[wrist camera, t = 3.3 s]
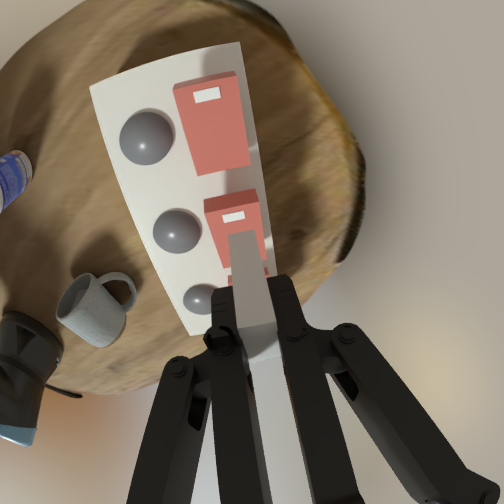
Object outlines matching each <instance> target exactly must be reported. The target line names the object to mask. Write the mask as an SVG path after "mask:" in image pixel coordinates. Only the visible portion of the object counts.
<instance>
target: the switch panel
mask: <svg viewBox="0 0 504 504" xmlns="http://www.w3.org/2000/svg"><path fill="white" fill-rule="evenodd" d="M229 71H234V72H235V73H236V75H237V80H238V86H239V92H240V98H241V105H242V111H243V117H244V124H245V130H246V137H247V143H248V150H249V156H250V163H251V165H248V166H243V167H238V168H233V169H228V170H223V171H219V172H214V173H210V174H206V175H201V176H197V173H196V170H195V166H194V163H193V160H192V156H191V153H190V150H189V146H188V143H187V140H186V136H185V133H184V129H183V126H182V123H181V119H180V116H179V112H178V109H177V105H176V102H175V98H174V94H173V91H172V89H173V86H174V84H176V83H180V82H183V81H187V80H191V79H195V78H200V77H204V76H209V75H213V74H218V73H224V72H229ZM89 88H90V92H91V96H92V100H93V104H94V107H95V111H96V114H97V118H98V121H99V125H100V128H101V132H102V135H103V138H104V141H105V144H106V147H107V150H108V153H109V156H110V159H111V162H112V165H113V168H114V171H115V174H116V176H117V179H118V182H119V185H120V187H121V190H122V193H123V195H124V198H125V200H126V203H127V205H128V208H129V210H130V213H131V215H132V218H133V220H134V223H135V225H136V227H137V230H138V232H139V234H140V237H141V239H142V241H143V243H144V246H145V248H146V250H147V252H148V254H149V257H150V259H151V261H152V263H153V265H154V267H155V269H156V272H157V274H158V276H159V278H160V280H161V282H162V284H163V286H164V288H165V290H166V292H167V294H168V296H169V298H170V300H171V302H172V303H173V305H174V307H175V309H176V311H177V313H178V315H179V317H180V319H181V320H182V322H183V324H184V326H185V328H186V330H187V331H188V333H189V335H190V336H193V335H199V334H205V332H206V331H207V329H209V328H210V327H211V326H212V323H211V296H212V294H213V292H214V289H216V288H221V287H227V286H228V275H232V274H231V267H229V268H224V269H223V266H222V263H221V260H220V257H219V255H218V252H217V249H216V246H215V243H214V240H213V238H212V235H211V232H210V229H209V226H208V223H207V220H206V217H205V214H204V203H203V199H207V198H212V197H216V196H221V195H225V194H230V193H234V192H239V191H244V190H249V189H254V188H255V189H256V193H257V196H258V199H259V204H260V211H261V219H262V226H263V234H264V242H265V249H266V257H267V260H262V264H263V268H266V267H267V269H268V272H269V276H270V277H273V276H277V269H276V262H275V254H274V247H273V240H272V233H271V226H270V219H269V212H268V206H267V199H266V192H265V186H264V179H263V173H262V167H261V160H260V154H259V148H258V142H257V136H256V130H255V124H254V118H253V112H252V106H251V101H250V95H249V89H248V84H247V78H246V73H245V67H244V62H243V57H242V51H241V46H240V42H234V43H228V44H222V45H216V46H211V47H206V48H201V49H197V50H193V51H188V52H184V53H181V54H177V55H173V56H170V57H166V58H163V59H159V60H156V61H153V62H150V63H147V64H144V65H141V66H138V67H135V68H133V69H130V70H127V71H125V72H122V73H119V74H117V75H114V76H112V77H110V78H107V79H105V80H103V81H100V82H98V83H96V84H94V85H92V86H90V87H89Z"/></svg>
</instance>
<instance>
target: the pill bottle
mask: <svg viewBox="0 0 504 504" xmlns="http://www.w3.org/2000/svg"><path fill="white" fill-rule="evenodd" d="M31 180H32V166H31V163H30V160H29V158H28V157H27V155H26V154H25V153H23V152H22V151H19V150H13V151H11V152H9V153H7V154H5V155H4V156H2V157H0V213H1V212H2V211H3V210H4V209H5V208H6V207H7V206H8V205H9V204H10V203H11V202H12V201H13V200H15V199H16V198H17V197H18V196H19V195H20V194H21V193H22V192H24V191H25V190H26V189H27V188H28V187H29V185H30V183H31Z"/></svg>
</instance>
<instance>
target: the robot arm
mask: <svg viewBox="0 0 504 504" xmlns="http://www.w3.org/2000/svg"><path fill="white" fill-rule="evenodd" d="M228 242H229V253H230V264H231V274H232V284H233V285H232V286H227V287H221V288H216V289H214V292H213V294H212V296H211V323H212V326H211V327H210V328H209V329H207V331H206V332H205V334H204V337H203V340H204V342H205V344H206V346H207V348H208V349H207V350H206V351H204V352H203V353H201V354H200V355H197V356H195V357H193V358H191V359H189V358H188V357H184V356H176V357H174V358H172V359H170V360H169V361H168V362H167V363H166V365H165V367H164V370H163V373H162V376H161V379H160V382H159V386H158V389H157V392H156V395H155V399H154V402H153V405H152V409H151V412H150V415H149V418H148V422H147V425H146V429H145V433H144V436H143V440H142V443H141V447H140V450H139V455H138V458H137V462H136V466H135V469H134V474H133V477H132V481H131V486H130V490H129V494H128V499H127V503H126V504H190V503H191V498H192V493H193V488H194V483H195V477H196V472H197V467H198V462H199V457H200V452H201V447H202V442H203V437H204V433H205V427H206V423H207V417H208V413H209V408H210V403H212V418H213V431H214V444H215V455H216V466H217V475H218V485H219V494H220V501H221V504H273V503H272V497H271V492H270V486H269V480H268V474H267V468H266V463H265V457H264V450H263V445H262V438H261V432H260V426H259V420H258V414H257V407H256V400H255V394H254V387H253V381H252V374H251V371H250V368H249V363H253V362H258V361H263V360H268V359H273V358H278V357H282V362H283V368H284V375H285V377H286V382H287V385H288V391H289V395H290V400H291V404H292V409H293V414H294V418H295V423H296V427H297V432H298V436H299V441H300V445H301V450H302V455H303V460H304V464H305V469H306V474H307V478H308V483H309V488H310V492H311V497H312V502H313V504H365V502H364V500H363V498H362V496H361V495H360V493H359V490H358V487H357V483H356V479H355V475H354V472H353V468H352V464H351V461H350V457H349V454H348V450H347V447H346V442H345V439H344V435H343V432H342V428H341V425H340V422H339V419H338V415H337V411H336V408H335V405H334V401H333V398H332V395H331V391H330V388H329V385H328V382H327V379H326V375H325V373H329V374H330V376H331V377H332V379H333V380H334V382H335V383H336V385H337V386H338V388H339V389H340V391H341V392H342V394H343V395H344V397H345V398H346V400H347V401H348V403H349V404H350V406H351V407H352V409H353V411H354V412H355V414H356V415H357V417H358V418H359V420H360V421H361V423H362V424H363V426H364V427H365V429H366V430H367V432H368V433H369V435H370V436H371V438H372V439H373V441H374V443H375V444H376V445H377V447H378V449H379V450H380V452H381V453H382V455H383V456H384V458H385V459H386V461H387V462H388V464H389V465H390V467H391V468H392V470H393V471H394V473H395V474H396V476H397V477H398V479H399V480H400V482H401V483H402V484H403V486H404V488H405V489H406V491H407V492H408V493H409V495H410V496H411V497H412V498H413V499H414V500H415V501H417V502H418V503H419V504H497V502H498V500H499V497H500V487H499V486H498V485H497V484H496V483H495V482H492V481H490V480H488V479H486V478H484V477H482V476H480V475H478V474H476V473H475V472H472V471H471V470H469V469H467V468H466V467H465V465H464V464H463V462H462V461H461V459H460V458H459V457H458V455H457V454H456V452H455V451H454V449H453V448H452V447H451V445H450V444H449V442H448V441H447V439H446V438H445V437H444V435H443V434H442V433H441V431H440V430H439V428H438V427H437V426H436V424H435V423H434V422H433V420H432V419H431V418H430V416H429V415H428V414H427V412H426V411H425V410H424V408H423V407H422V406H421V404H420V403H419V402H418V400H417V399H416V398H415V396H414V395H413V394H412V392H411V391H410V390H409V389H408V387H407V386H406V385H405V383H404V382H403V381H402V380H401V378H400V377H399V376H398V375H397V373H396V372H395V371H394V370H393V368H392V367H391V366H390V364H389V363H388V362H387V361H386V359H385V358H384V357H383V356H382V354H381V353H380V352H379V351H378V349H377V348H376V347H375V346H374V344H373V343H372V342H371V341H370V339H369V338H368V337H367V336H366V335H365V333H364V332H363V331H362V330H361V329H360V328H359V327H358V326H357V325H355V324H352V323H343V324H340V325H338V326H336V327H335V328H334V329H333V330H320V329H316V328H313V327H311V326H310V325H309V324H308V323H307V322H306V320H305V318H304V315H303V312H302V309H301V306H300V303H299V300H298V297H297V294H296V291H295V288H294V285H293V282H292V280H291V279H290V278H289V277H288V276H287V275H286V274H283V275H278V276H273V277H268V278H266V276H265V272H264V268H263V264H262V259H261V255H260V251H259V247H258V243H257V239H256V235H255V231H254V229H253V230H248V231H243V232H238V233H233V234H228ZM62 355H63V349H62V346H61V344H60V343H59V341H58V340H57V339H56V337H55V336H54V335H53V334H52V333H51V332H50V331H49V330H48V329H46V328H45V327H44V326H43V325H41V324H40V323H38V322H37V321H35V320H34V319H32V318H30V317H28V316H26V315H24V314H21V313H18V312H7V313H5V314H4V316H3V318H2V320H1V322H0V437H2V438H5V439H7V440H9V441H12V442H14V443H17V444H20V445H23V446H26V447H28V446H30V445H32V444H33V440H34V437H35V433H36V430H37V421H38V415H39V409H40V405H41V400H42V396H43V391H44V388H45V384H46V382H47V380H48V379H49V378H50V376H51V375H52V373H53V372H54V371H55V369H56V368H57V367H58V365H59V364H60V361H61V358H62Z"/></svg>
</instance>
